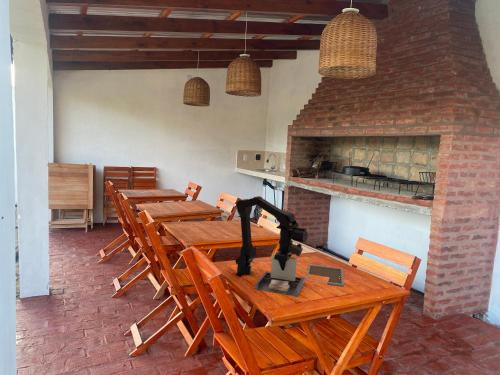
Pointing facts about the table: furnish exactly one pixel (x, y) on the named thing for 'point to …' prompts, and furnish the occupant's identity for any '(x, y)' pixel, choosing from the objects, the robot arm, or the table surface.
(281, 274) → the tall sheet
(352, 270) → the table surface
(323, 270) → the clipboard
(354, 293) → the table surface
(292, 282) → the tray
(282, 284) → the offcut top
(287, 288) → the offcut bottom
